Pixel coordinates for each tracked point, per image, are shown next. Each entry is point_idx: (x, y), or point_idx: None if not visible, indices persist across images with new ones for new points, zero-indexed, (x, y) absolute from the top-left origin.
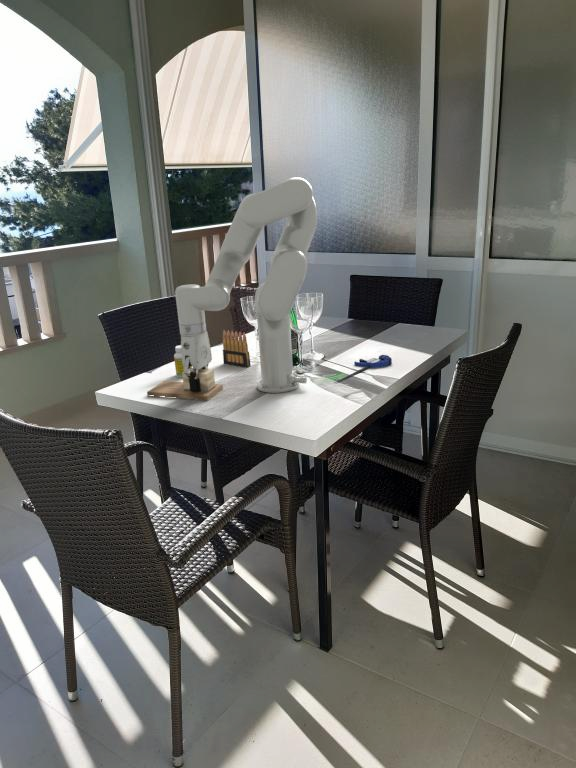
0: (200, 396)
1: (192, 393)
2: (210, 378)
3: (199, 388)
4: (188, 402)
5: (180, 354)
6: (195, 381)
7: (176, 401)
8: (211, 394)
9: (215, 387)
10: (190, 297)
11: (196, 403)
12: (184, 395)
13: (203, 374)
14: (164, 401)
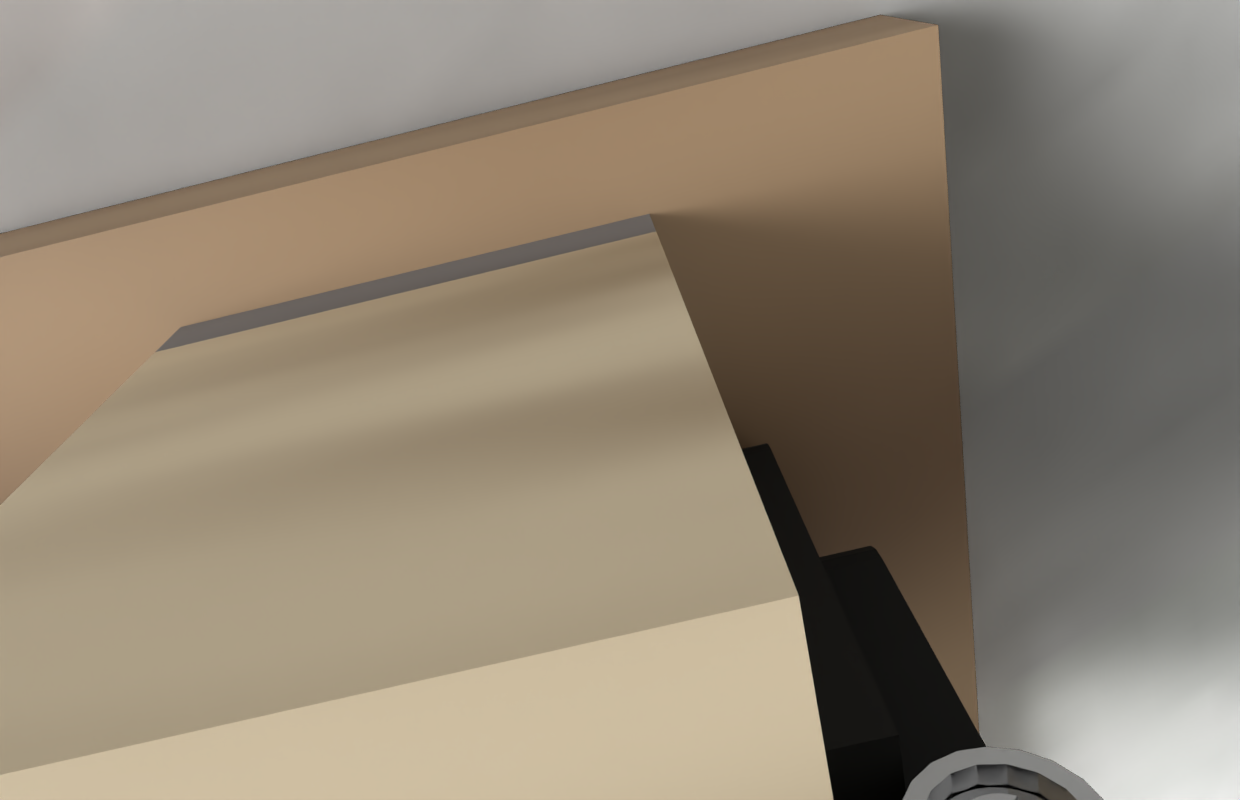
0: (934, 261)
1: (884, 543)
2: (365, 454)
3: (789, 491)
4: (1096, 397)
5: None
6: (959, 728)
7: (1082, 636)
8: (645, 88)
9: (196, 306)
10: None
11: (1130, 176)
12: (963, 643)
13: (821, 767)
14: (1118, 792)
